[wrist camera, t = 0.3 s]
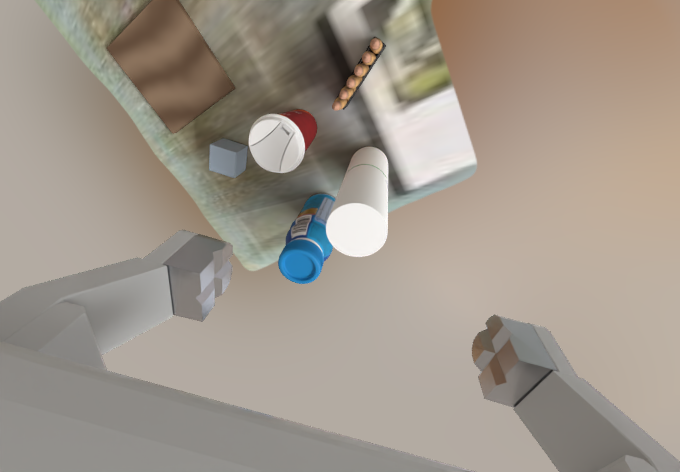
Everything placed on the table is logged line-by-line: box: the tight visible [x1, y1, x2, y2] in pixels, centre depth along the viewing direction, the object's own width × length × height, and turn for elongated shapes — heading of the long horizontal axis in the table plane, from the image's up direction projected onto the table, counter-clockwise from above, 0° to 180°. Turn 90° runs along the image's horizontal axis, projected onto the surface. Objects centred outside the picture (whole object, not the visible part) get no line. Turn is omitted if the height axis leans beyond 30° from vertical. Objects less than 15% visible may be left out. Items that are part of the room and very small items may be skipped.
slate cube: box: [209, 138, 248, 178], centre depth 55 cm, size 5×5×5 cm
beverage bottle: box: [278, 194, 335, 284], centre depth 52 cm, size 8×8×20 cm
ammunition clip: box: [332, 37, 386, 110], centre depth 42 cm, size 11×2×12 cm, turn 145°
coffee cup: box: [249, 110, 317, 173], centre depth 46 cm, size 8×8×15 cm
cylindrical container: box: [326, 147, 388, 257], centre depth 44 cm, size 7×7×25 cm
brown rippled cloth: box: [107, 0, 235, 134], centre depth 50 cm, size 16×16×1 cm
